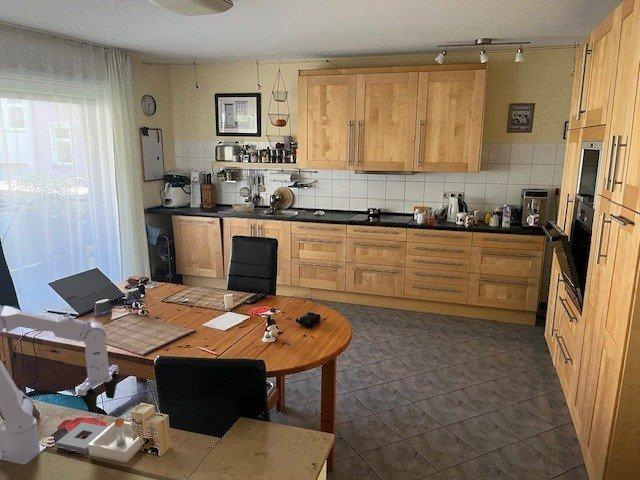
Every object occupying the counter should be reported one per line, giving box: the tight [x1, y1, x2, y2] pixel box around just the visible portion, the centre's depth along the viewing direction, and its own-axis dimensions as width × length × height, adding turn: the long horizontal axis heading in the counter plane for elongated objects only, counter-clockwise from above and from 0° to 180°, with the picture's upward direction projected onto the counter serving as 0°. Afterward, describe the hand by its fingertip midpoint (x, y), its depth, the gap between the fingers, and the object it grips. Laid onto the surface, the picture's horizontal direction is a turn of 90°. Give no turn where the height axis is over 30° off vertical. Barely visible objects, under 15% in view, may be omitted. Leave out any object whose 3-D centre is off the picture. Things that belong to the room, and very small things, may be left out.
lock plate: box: [55, 421, 109, 456], centre depth 137 cm, size 10×10×2 cm
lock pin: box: [114, 417, 126, 447], centre depth 134 cm, size 2×2×8 cm
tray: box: [88, 420, 141, 464], centre depth 135 cm, size 12×12×4 cm
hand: (101, 404), depth 139 cm, fingers open, 7 cm apart
